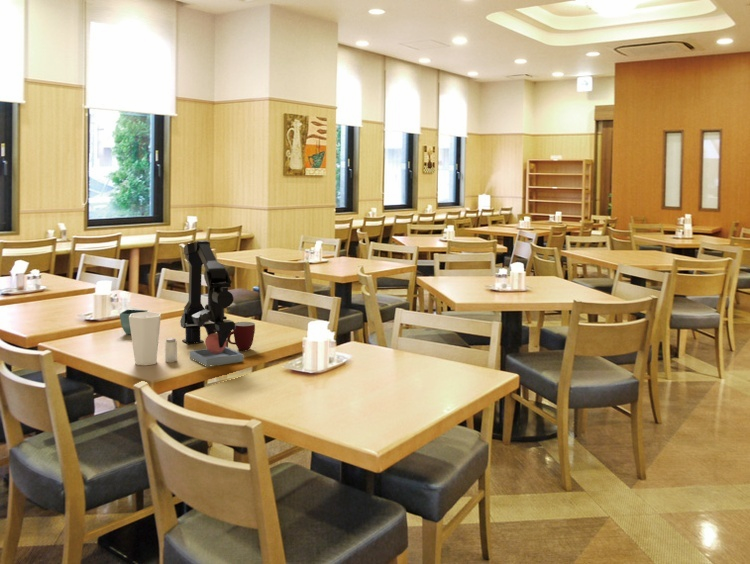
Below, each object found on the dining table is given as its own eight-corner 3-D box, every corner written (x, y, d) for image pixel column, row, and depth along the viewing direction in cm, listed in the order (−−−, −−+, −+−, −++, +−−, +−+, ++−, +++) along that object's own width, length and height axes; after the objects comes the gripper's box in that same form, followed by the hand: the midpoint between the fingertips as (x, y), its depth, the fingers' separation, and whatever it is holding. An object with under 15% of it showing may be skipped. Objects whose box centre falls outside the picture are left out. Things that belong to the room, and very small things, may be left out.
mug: (233, 354, 266) (233, 327, 264) (223, 349, 272) (223, 323, 270) (258, 350, 273) (258, 324, 271) (248, 346, 279) (248, 320, 277)
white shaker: (163, 360, 255) (163, 338, 254) (174, 358, 257) (174, 337, 256) (167, 362, 252) (167, 341, 250) (178, 361, 254) (178, 339, 253)
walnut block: (213, 349, 272) (213, 339, 272) (221, 347, 275) (221, 337, 275) (220, 351, 270) (220, 341, 269) (228, 349, 273) (228, 339, 272)
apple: (208, 356, 252) (208, 334, 251) (203, 351, 259) (203, 330, 257) (229, 355, 256) (229, 333, 254) (223, 349, 262) (223, 328, 261)
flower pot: (141, 336, 290) (140, 314, 288) (119, 335, 290) (119, 313, 288) (148, 331, 298) (148, 310, 297) (127, 330, 298) (126, 309, 297)
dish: (189, 358, 259) (189, 351, 258) (225, 353, 267) (225, 346, 267) (206, 367, 248) (206, 359, 247) (243, 361, 256) (243, 354, 256)
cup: (168, 361, 254) (167, 313, 251) (150, 368, 244) (149, 319, 241) (141, 357, 257) (140, 310, 255) (123, 364, 248) (121, 316, 245)
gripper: (183, 299, 257) (184, 342, 259) (206, 308, 242) (206, 353, 245) (212, 297, 263) (212, 338, 266) (236, 305, 249) (236, 349, 251)
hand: (216, 345), depth 257 cm, fingers closed on apple, 7 cm apart
